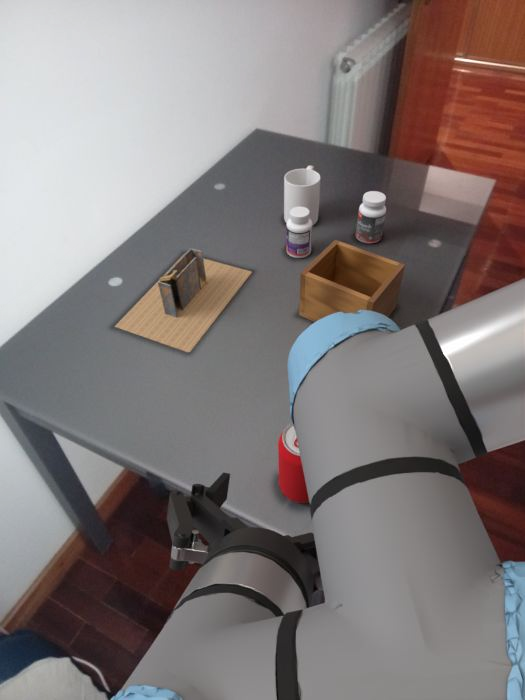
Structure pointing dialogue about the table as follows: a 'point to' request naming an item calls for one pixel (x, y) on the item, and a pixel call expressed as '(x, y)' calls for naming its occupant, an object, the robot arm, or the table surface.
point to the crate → (349, 282)
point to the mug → (302, 192)
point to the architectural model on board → (184, 301)
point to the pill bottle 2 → (371, 217)
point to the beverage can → (291, 467)
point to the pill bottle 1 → (299, 233)
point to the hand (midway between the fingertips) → (288, 497)
